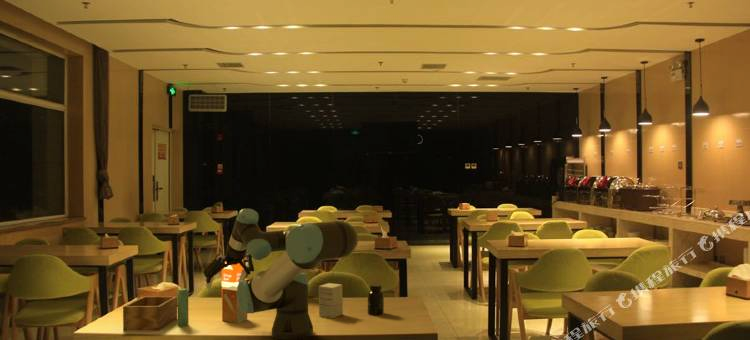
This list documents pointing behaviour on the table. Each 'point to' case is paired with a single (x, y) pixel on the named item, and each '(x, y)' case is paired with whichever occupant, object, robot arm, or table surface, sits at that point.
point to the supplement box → (330, 300)
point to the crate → (150, 313)
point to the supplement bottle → (375, 300)
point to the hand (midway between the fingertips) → (224, 285)
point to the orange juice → (231, 275)
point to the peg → (183, 307)
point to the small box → (231, 306)
